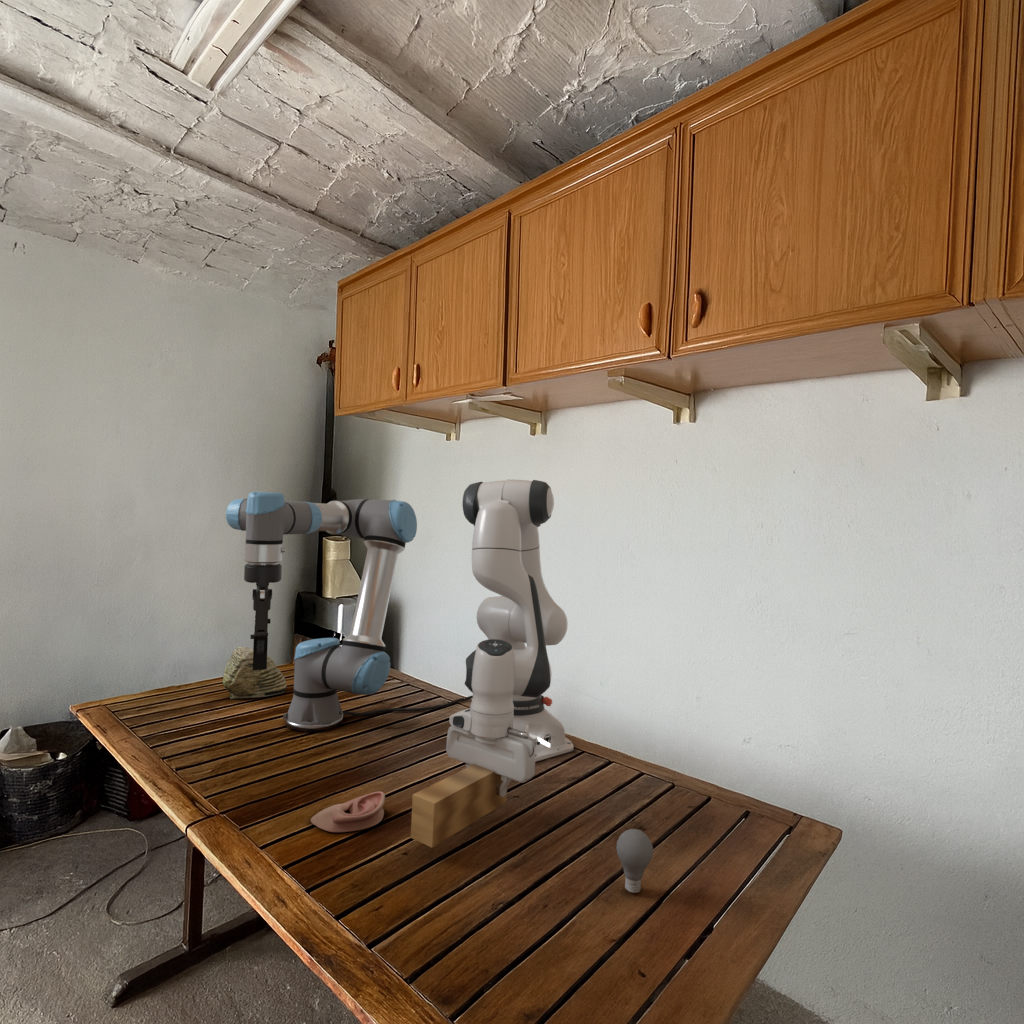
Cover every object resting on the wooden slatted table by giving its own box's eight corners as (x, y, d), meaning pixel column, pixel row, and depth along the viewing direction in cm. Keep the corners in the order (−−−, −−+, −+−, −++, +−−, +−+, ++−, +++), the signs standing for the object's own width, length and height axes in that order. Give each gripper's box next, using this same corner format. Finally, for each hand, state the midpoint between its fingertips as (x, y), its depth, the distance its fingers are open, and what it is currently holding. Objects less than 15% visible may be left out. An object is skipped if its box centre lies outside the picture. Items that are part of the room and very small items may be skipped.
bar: (432, 847, 111) (434, 803, 110) (410, 837, 113) (412, 794, 113) (506, 802, 129) (508, 764, 129) (485, 794, 132) (487, 757, 132)
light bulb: (610, 879, 108) (613, 822, 108) (644, 879, 109) (647, 822, 109) (619, 902, 102) (622, 840, 102) (655, 901, 103) (658, 840, 103)
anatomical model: (303, 807, 121) (332, 781, 132) (302, 827, 121) (331, 800, 132) (368, 817, 118) (392, 790, 129) (367, 838, 118) (391, 809, 129)
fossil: (218, 695, 195) (220, 647, 195) (278, 685, 208) (279, 640, 207) (228, 703, 189) (230, 653, 188) (289, 692, 201) (290, 645, 201)
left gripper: (283, 570, 126) (279, 675, 127) (280, 557, 150) (277, 646, 150) (242, 570, 124) (238, 678, 124) (246, 557, 147) (242, 648, 147)
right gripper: (543, 730, 125) (539, 800, 125) (462, 707, 136) (459, 771, 136) (525, 739, 119) (521, 812, 120) (443, 714, 131) (439, 781, 131)
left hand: (259, 661), depth 137 cm, fingers open, 13 cm apart
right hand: (487, 790), depth 128 cm, fingers closed on bar, 5 cm apart
